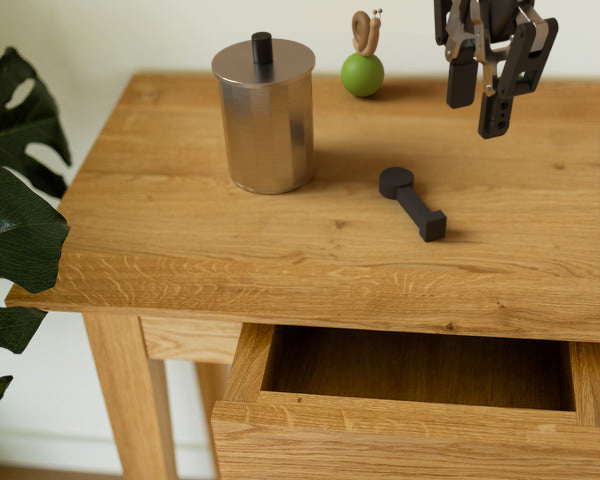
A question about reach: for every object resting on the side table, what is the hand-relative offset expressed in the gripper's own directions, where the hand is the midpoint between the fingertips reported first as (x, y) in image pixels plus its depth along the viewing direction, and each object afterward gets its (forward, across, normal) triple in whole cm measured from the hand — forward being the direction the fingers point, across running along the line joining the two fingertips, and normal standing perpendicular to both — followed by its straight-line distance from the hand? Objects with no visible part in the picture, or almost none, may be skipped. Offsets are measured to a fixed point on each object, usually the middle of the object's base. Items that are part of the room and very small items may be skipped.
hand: (475, 118), depth 60 cm
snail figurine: (+16, +34, -5) cm, 38 cm away
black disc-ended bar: (+15, +10, 0) cm, 18 cm away
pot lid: (+3, +22, +11) cm, 25 cm away
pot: (+15, +22, +11) cm, 29 cm away
